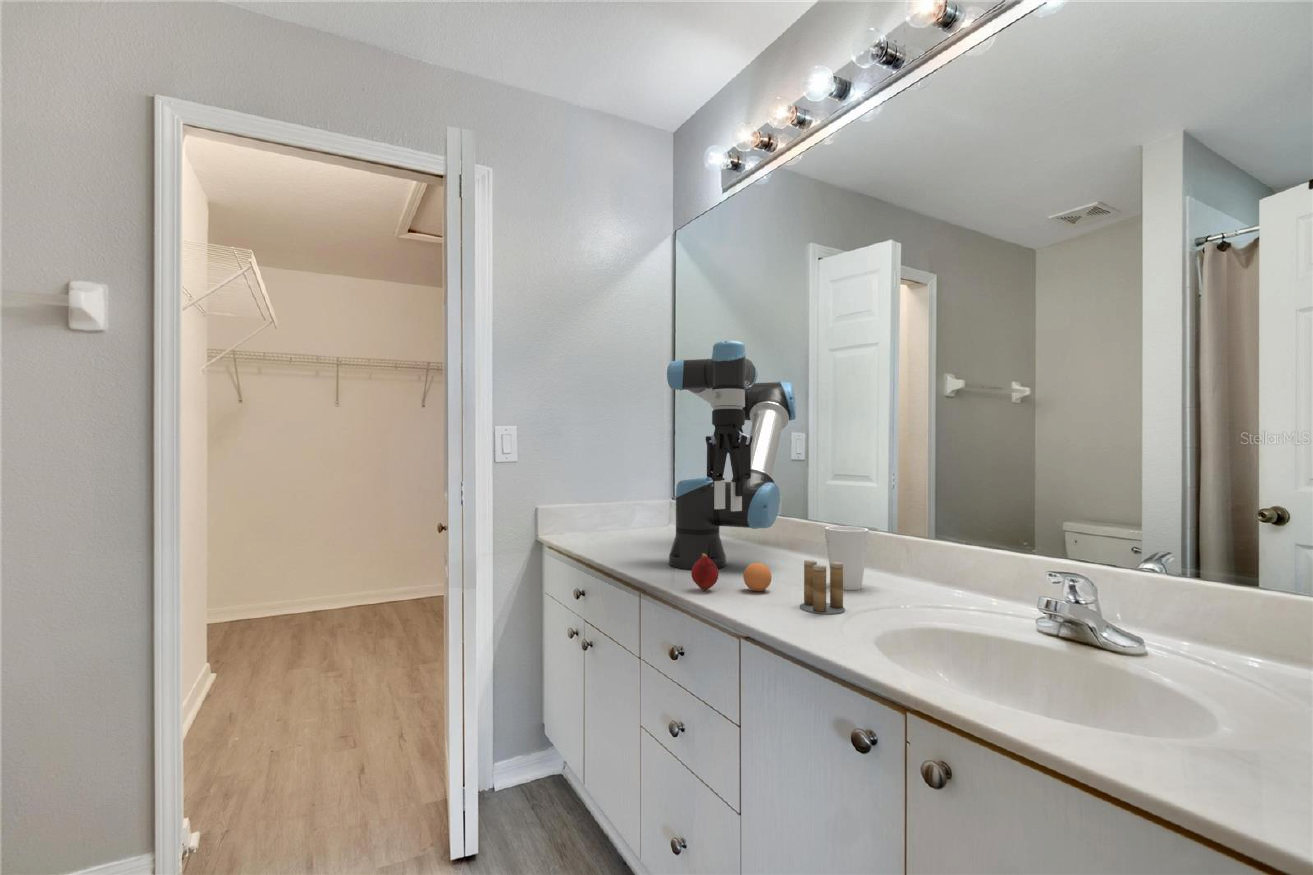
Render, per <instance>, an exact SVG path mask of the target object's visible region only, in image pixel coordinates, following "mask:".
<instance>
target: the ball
mask: <svg viewBox="0 0 1313 875" xmlns="http://www.w3.org/2000/svg"><path fill="white" fill-rule="evenodd" d="M743 581H744V584H745V585H746V587H747V588H748V589H750V591H751V590H752V591H754V592H762V591H764V590H766V589H768V588H769V587H770V584H772V572H771V570H770V569H769V568H768V566H767V565H765V564H764V563H761V562H753V563H751V564H749V565H748V566H747V567H746V568H745V570H744V572H743Z"/></svg>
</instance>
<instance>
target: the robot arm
mask: <svg viewBox="0 0 1313 875" xmlns="http://www.w3.org/2000/svg"><path fill="white" fill-rule="evenodd" d="M746 355H747V353H746V346H745V344H744V343H743V342H742V341H738V340H721V341H717V342H715V343H714V344H713V345H712V356H711V358H702V359H701V358H699V359H680V360H673V361H670V363H668V366H667V371H666V379H667V380H666V381H667V384H668V387H669V388H670V389H671V390H675V391H676V390H677V391H678V390H680V391H683V390H684V391H685V390H686V391H689V392H691V393H692V394H694V395H696V396H697V397H699V398H701V399H702V400H703V401H705V402H707V403H709V404H710V407H711V408H712V409H713V410H712V411H711V424H712V426H713V427H714V431H713V434H711V435H706V436H705V442H706V476H705V477H698V478H691V479H690V478H689V479H682V480H679V482H678V483H677V484H676V492H675V497H674V498H675V537H674V539H673V542H672V545H671V549H670V552H669V554H668V565H669V566H671V567H674V568H678V569H683V570H685V569H686V570H692V568H693V566H694V564H695V563H696V562H697V561H698V560H699V559H700V558H702V553H704V554H706V555H707V556H708V558H709V559H711V560H712V561H713V562H714V563H715V564H716V566H717V569H721V568H723V567H724V568H725V567H726V566H727V557H726V553H725V551H724V547H723V544H722V540H721V537H720V527H730V528H745V529H746V528H749V529H753V530H754V529H756V530H758V529H767V528H771V526H773V525H774V524H775V522H776V519H777V517H778V514H779V510H780V502H781V493H780V492H781V491H780V488H779V485H778V484H777V483H776V482H775V480H774V479H773V477H772V476H773V473H774V471H773V470H774V468H775V467H774V466H775V462H776V457H777V452H778V448H779V442H780V438H781V433H782V430H783V429H785V428H786V427H787V425H788V424H789V421H793V420H795V419H796V418H797V408H796V407H797V406H796V397H795V390H794V389H795V388H794V386H793V384H792V383H791V382H789V381H777V382H775V381H774V382H757V379H758V376H759V373H758V368H757V366H756V365H755V364H754V363H753V361H752V360H750V359H748V358H746ZM746 421H750V422H751V423H752V424H751V428H750V432H749V435H747V434H745V433H744V431H743V427H744V425H745V424H746ZM728 454H729V460H730V467H731V472H732V478H731V480H730V481H726V480H725V479H726V478H724V473H725V468H726V463H727V457H728Z"/></svg>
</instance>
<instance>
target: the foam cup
mask: <svg viewBox="0 0 1313 875" xmlns="http://www.w3.org/2000/svg"><path fill="white" fill-rule="evenodd" d="M824 538H825V543H826V550H827V559H828V565H829V567H830V563H831V562H839V563H843V590H847V591H856V590H861V589H862V585H863V580H864V572H865V565H866V559H867V551H868V545H869V544H868V542H869V541H870V529H869V528H865V527H861V526H860V527H859V526H849V525H848V526H847V525H831V526H826V527H824ZM860 588H861V589H860Z"/></svg>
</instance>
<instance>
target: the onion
mask: <svg viewBox="0 0 1313 875" xmlns="http://www.w3.org/2000/svg"><path fill="white" fill-rule="evenodd" d="M690 573H691V579H692V581H693V582H694V584H696V585H697V587H698V588H700V590H701V591H703V592H707V591H708V590H709V589H710V588H713V586H715V585H716V583H717V581H718V580H719V568H717V566H716V564H715V563H714V562H713V561H712V560H711V559H709V558H708V556H707V555H706V554H704V553H702V558H700V559H699V560H698V561H697V562H696V563H695V564H694V566H693V568H692V569H691V572H690Z"/></svg>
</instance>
